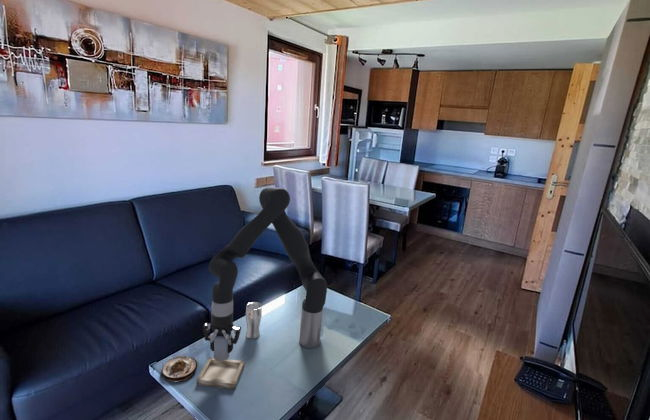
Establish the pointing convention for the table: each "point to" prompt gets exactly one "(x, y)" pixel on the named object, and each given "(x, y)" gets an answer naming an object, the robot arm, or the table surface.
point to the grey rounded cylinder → (220, 348)
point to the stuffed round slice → (179, 368)
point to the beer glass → (253, 319)
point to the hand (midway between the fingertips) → (221, 350)
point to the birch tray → (220, 373)
